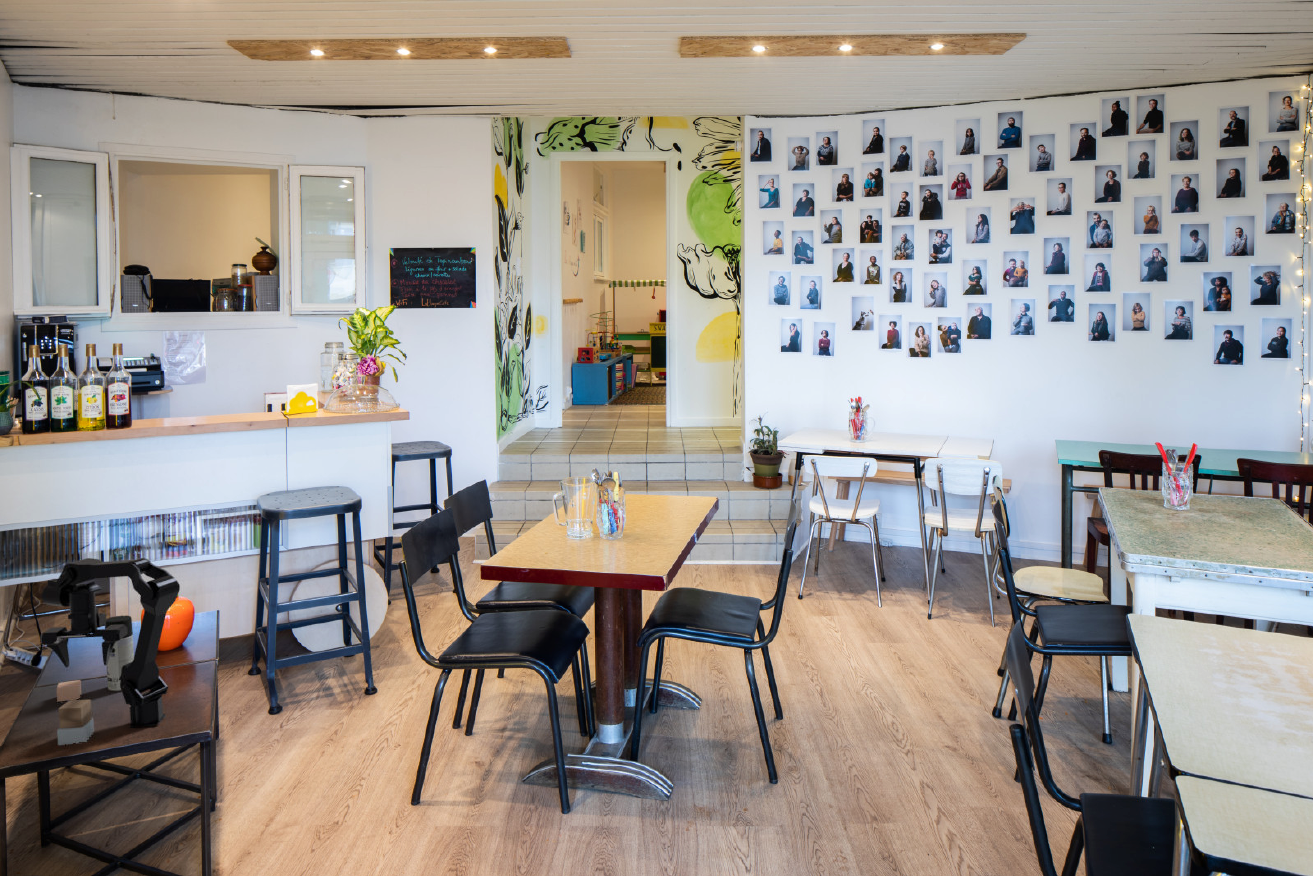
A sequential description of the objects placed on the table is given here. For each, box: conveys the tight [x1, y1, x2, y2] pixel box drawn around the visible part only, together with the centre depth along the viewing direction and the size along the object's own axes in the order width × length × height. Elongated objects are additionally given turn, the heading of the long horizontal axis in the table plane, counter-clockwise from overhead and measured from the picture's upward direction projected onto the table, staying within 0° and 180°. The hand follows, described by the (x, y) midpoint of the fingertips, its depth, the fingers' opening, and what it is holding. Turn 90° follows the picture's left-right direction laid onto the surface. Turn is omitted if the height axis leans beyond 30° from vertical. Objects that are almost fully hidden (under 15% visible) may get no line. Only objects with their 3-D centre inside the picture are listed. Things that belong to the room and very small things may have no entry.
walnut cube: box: [58, 699, 93, 728], centre depth 223 cm, size 5×5×5 cm
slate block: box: [56, 717, 95, 746], centre depth 223 cm, size 6×6×4 cm
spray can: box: [104, 615, 135, 692], centre depth 255 cm, size 7×7×20 cm
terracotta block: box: [56, 679, 82, 702], centre depth 248 cm, size 5×5×4 cm
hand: (86, 665), depth 237 cm, fingers open, 9 cm apart
